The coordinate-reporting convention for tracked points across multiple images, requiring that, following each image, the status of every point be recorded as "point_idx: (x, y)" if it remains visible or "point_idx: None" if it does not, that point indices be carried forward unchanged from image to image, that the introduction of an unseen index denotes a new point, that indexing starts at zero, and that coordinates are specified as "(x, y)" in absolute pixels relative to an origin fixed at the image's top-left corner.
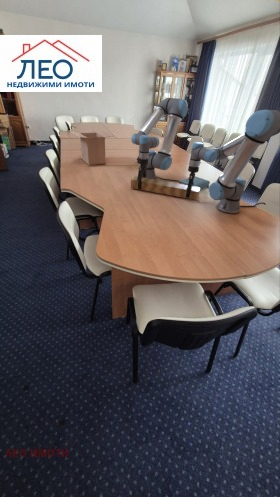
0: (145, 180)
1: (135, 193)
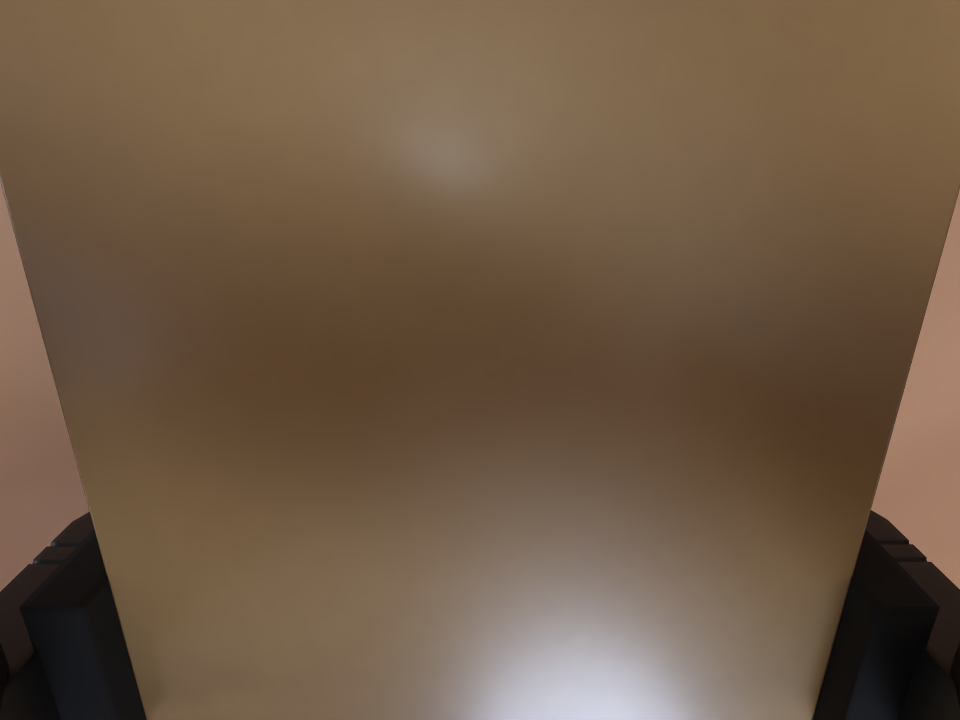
0: (560, 449)
1: (892, 449)
